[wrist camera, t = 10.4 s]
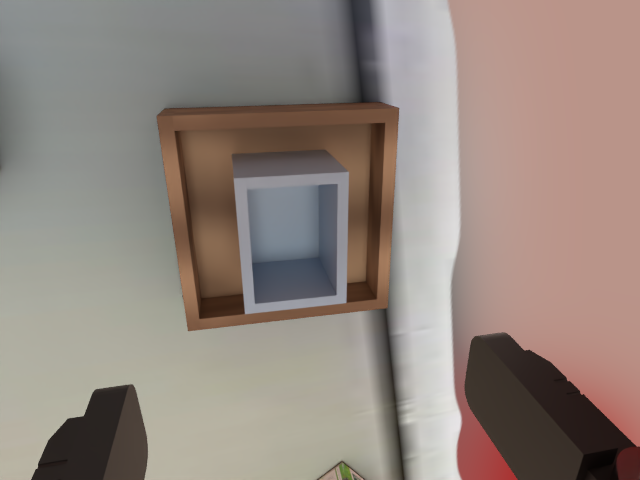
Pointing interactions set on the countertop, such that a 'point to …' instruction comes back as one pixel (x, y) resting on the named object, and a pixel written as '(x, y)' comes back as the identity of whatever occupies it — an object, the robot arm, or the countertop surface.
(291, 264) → the grey open bin
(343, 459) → the countertop surface
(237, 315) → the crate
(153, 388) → the countertop surface
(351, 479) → the syrup box
